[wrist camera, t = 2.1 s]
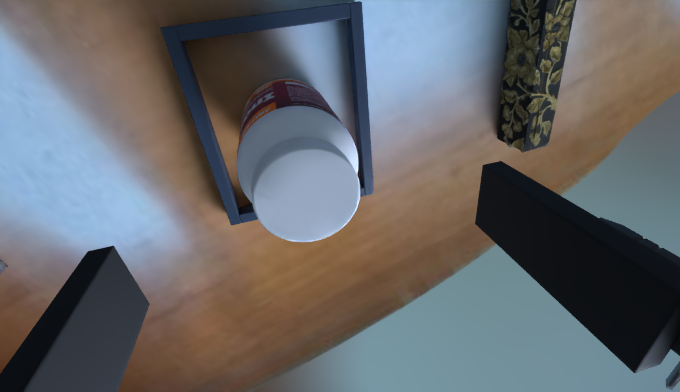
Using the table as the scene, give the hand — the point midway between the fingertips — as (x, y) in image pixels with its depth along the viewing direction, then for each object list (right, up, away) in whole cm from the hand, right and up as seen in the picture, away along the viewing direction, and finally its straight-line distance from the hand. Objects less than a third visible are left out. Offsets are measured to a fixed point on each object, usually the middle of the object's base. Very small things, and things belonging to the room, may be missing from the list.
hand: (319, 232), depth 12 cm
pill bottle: (-3, +7, +11) cm, 14 cm away
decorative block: (+14, +13, +12) cm, 23 cm away
